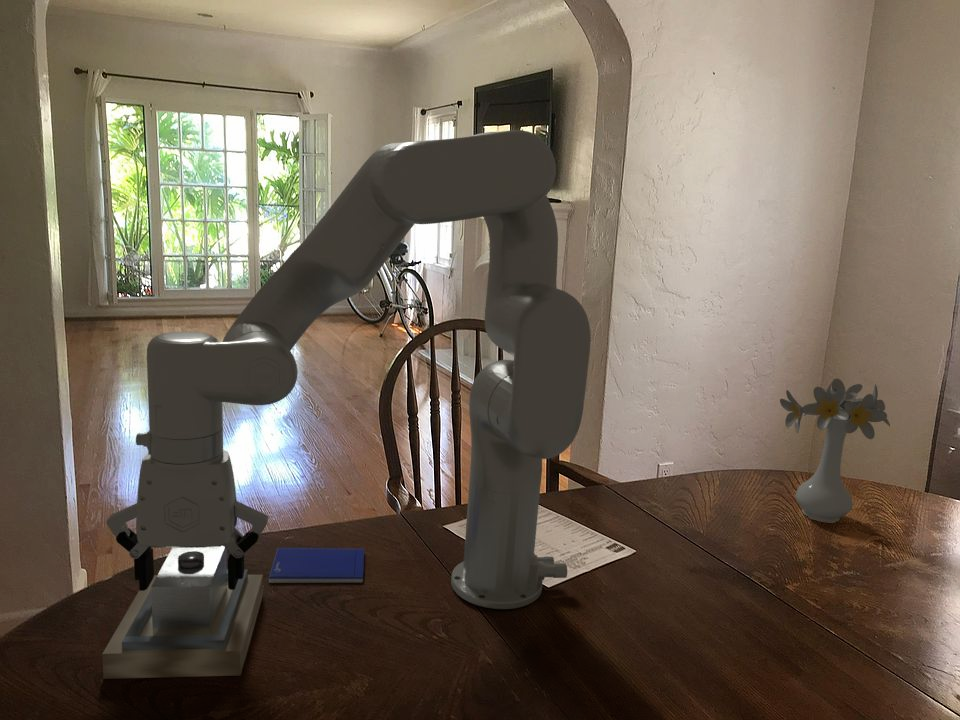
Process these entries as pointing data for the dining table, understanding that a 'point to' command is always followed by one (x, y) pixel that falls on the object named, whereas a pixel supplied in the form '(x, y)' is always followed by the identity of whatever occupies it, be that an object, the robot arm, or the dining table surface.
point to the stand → (185, 639)
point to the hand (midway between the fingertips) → (190, 584)
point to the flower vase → (833, 444)
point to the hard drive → (317, 565)
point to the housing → (189, 591)
